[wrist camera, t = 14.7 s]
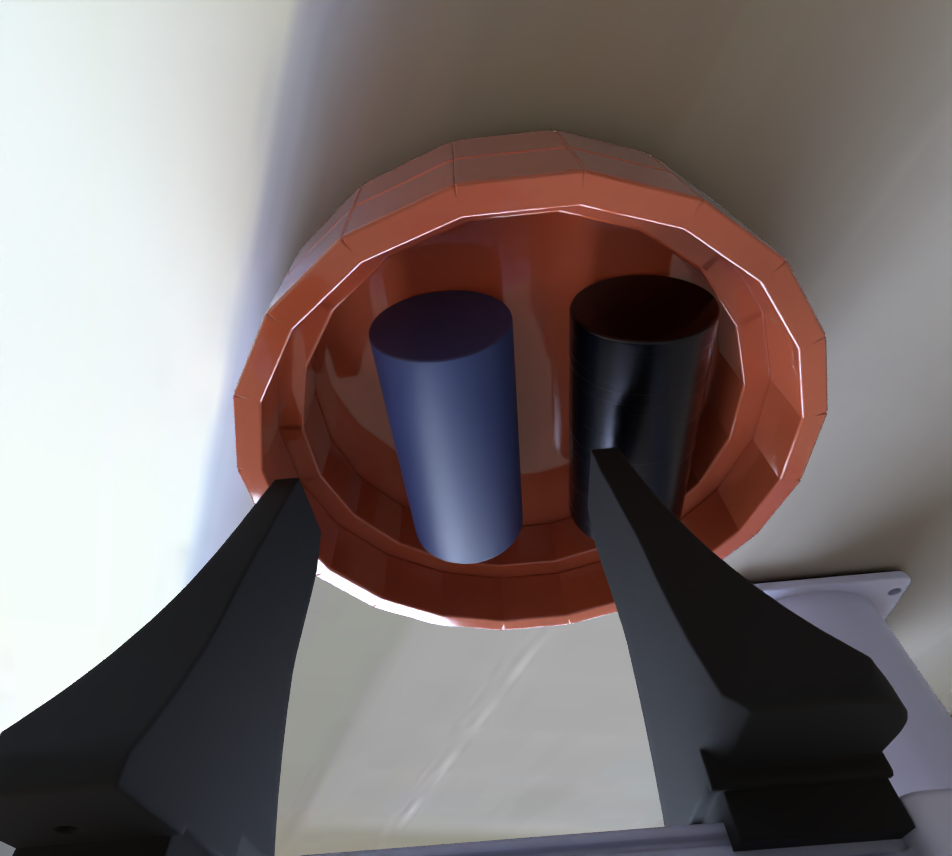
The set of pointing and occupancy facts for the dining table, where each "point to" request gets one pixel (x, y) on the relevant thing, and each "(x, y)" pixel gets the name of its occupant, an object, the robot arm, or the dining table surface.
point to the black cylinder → (638, 381)
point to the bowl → (520, 364)
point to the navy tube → (453, 419)
